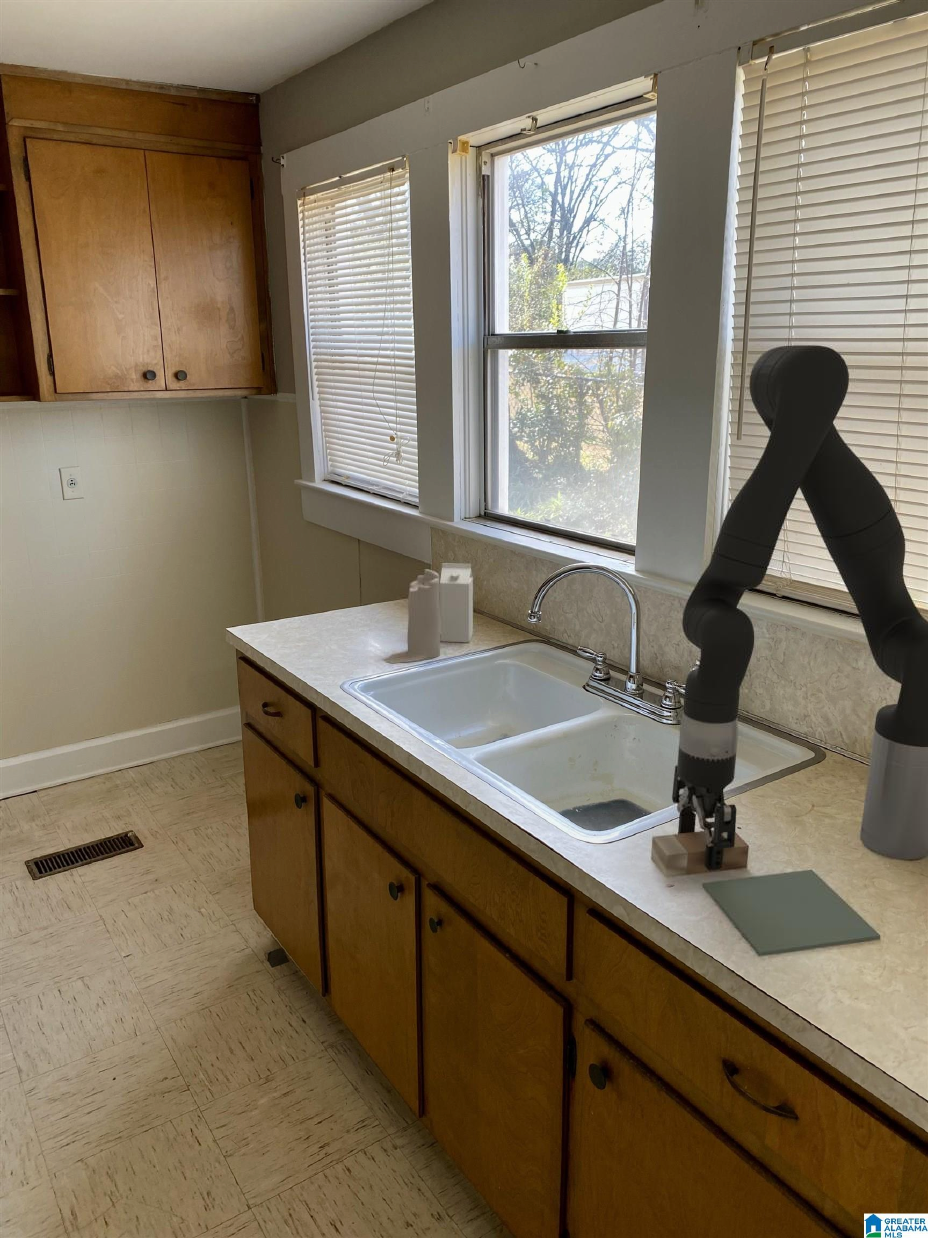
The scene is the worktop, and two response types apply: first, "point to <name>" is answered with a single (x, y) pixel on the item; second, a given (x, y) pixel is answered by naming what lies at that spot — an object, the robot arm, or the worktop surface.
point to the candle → (422, 620)
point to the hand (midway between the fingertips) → (699, 852)
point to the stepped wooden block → (693, 854)
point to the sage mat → (789, 912)
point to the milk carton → (456, 602)
